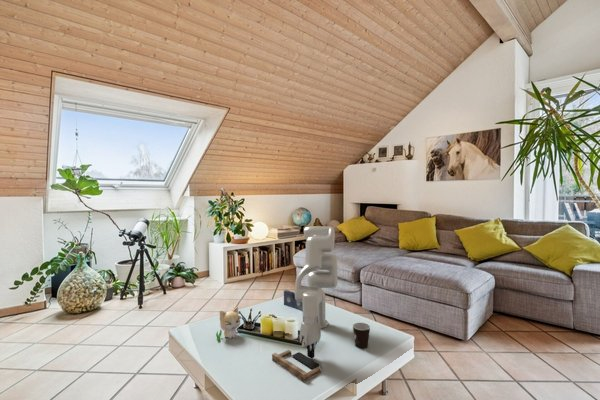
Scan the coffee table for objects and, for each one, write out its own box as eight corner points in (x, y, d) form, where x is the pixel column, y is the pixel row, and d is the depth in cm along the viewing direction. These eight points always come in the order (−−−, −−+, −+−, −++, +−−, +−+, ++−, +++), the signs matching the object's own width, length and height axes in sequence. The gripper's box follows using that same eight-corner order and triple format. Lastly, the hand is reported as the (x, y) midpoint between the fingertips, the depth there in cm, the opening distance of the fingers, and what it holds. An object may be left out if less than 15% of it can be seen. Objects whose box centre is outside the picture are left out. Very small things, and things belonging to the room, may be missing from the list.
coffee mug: (370, 350, 152) (370, 330, 152) (352, 349, 154) (352, 329, 154) (369, 339, 164) (369, 320, 163) (353, 338, 165) (353, 319, 165)
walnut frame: (272, 360, 144) (272, 354, 144) (288, 352, 151) (288, 346, 151) (303, 382, 128) (303, 374, 128) (320, 372, 135) (320, 365, 134)
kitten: (219, 344, 160) (219, 315, 159) (212, 336, 168) (212, 309, 168) (246, 336, 169) (245, 309, 168) (238, 329, 177) (237, 303, 176)
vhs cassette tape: (306, 310, 204) (305, 295, 203) (302, 311, 202) (302, 296, 201) (286, 303, 216) (286, 289, 216) (283, 304, 214) (283, 290, 214)
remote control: (291, 359, 147) (312, 371, 136) (291, 355, 147) (312, 367, 136) (298, 355, 150) (320, 367, 139) (298, 351, 150) (320, 363, 139)
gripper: (316, 312, 153) (316, 348, 154) (293, 320, 143) (293, 359, 143) (327, 316, 147) (327, 354, 148) (304, 326, 137) (304, 366, 138)
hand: (310, 356), depth 146 cm, fingers closed
